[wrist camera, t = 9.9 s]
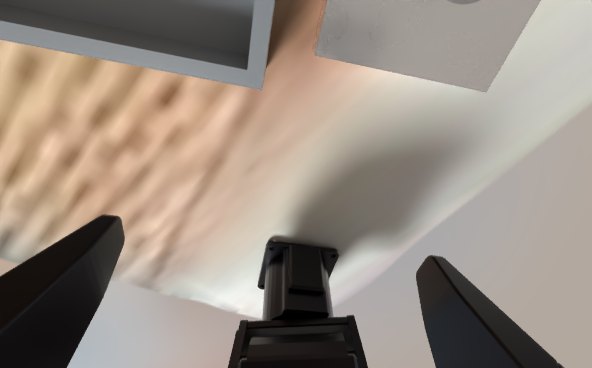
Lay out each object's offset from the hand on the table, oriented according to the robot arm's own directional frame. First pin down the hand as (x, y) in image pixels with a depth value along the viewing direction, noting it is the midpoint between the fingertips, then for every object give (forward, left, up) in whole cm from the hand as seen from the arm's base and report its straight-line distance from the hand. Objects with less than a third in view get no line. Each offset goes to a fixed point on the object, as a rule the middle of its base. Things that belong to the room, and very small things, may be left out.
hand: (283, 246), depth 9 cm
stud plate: (+8, -6, -12) cm, 16 cm away
